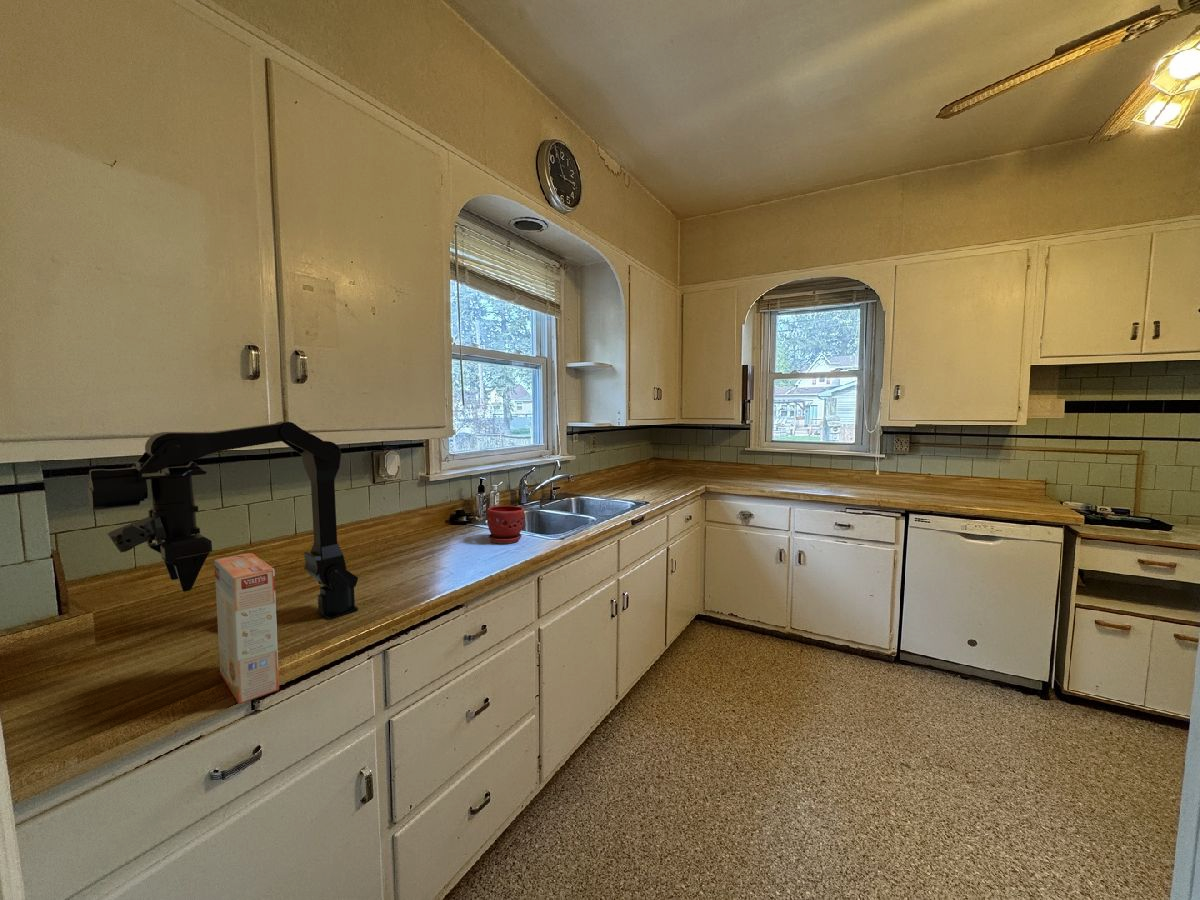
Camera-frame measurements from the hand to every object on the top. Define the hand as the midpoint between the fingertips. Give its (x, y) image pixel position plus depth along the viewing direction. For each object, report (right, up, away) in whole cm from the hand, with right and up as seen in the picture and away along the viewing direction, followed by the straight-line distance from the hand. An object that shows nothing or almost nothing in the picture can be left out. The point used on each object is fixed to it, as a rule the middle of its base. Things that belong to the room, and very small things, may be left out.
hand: (180, 584), depth 87 cm
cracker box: (+17, -15, -6) cm, 24 cm away
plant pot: (+43, -8, +83) cm, 94 cm away
